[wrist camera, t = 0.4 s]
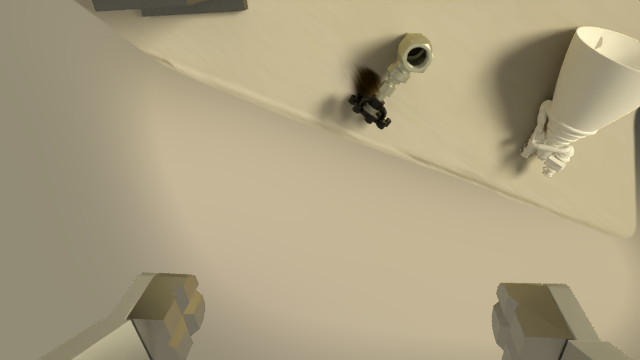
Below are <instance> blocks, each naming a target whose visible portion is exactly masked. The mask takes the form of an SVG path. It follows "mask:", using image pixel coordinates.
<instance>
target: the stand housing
mask: <svg viewBox="0 0 640 360" xmlns="http://www.w3.org/2000/svg"><path fill="white" fill-rule="evenodd" d="M92 1H93V4H94V7H95V10H96V11H111V10H126V9H141V10H142V14H143V16H157V15H173V14H190V13H206V12H222V11H239V10H246V9H248V5H247V0H92Z"/></svg>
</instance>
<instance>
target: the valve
mask: <svg viewBox="0 0 640 360" xmlns="http://www.w3.org/2000/svg"><path fill="white" fill-rule="evenodd" d="M416 47H421V48H422V49H421V51H420V52H419V53H418V54H417V55H415V56H408V53H409V51H410V50H412V49H413V48H416ZM433 60H434V58H433V55H432V45H431V43H430V41H429V40H428V39H427V38H426V37H425V36H423V35H422V34H418V33H407V34H406V35H405V36H404V38H403V39H402V40H401V42H400V43H399V45H398V60H397V61H396V62H395V63H391V65H390V66H389V67H388V69H387V70H388V72H389V73H390V74H389V75H388V78H389V79H388V80H387V81H386V80H384V82H383V83H382V84H381V86H380V87H379V91H380V92H379V93H378V95H375V94H373V95H372V97H371V98H370V97H366V98H364V99H362V97H363V96H362V95H361V94H359V93H357V95H356V96H355V95H351V97H350V98H349V100H348V102H349V103H350V104H352V105H354V107H353V108H352V109H353V111H354V112H355V113H357V114H359V113H361V114H362V115H363V116H364V117H365V118H364V120H365V121H366V122H367V123H369V124H371V123H372V122H374V123H376V125H377V127H378V128H380V129H383V128H384V127H387V126H388V125H389V124H390V123H391V120H390V119H389V118H387V119H386V120H385V119H384V118H385V117H386V114H387V112H386V109H385V107H384V106H383V105H384V104H385V102H384V101H383V99H384V98H385V97H386V96H388V97H390V95H391V94H392V93H393V91H394V90H395V87H394V86H395V85H396V84H400V82H402V83H406V82H407V80H408V79H409V78H410V75H409V74H410V72H417V73H423V72H424V71H425V70H426V69H427V67H428V66H429V65H430V64H431V62H432V61H433ZM363 106H364V107H365V108H363ZM374 115H376V116H377V117H375V116H374Z"/></svg>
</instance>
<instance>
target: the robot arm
mask: <svg viewBox="0 0 640 360" xmlns="http://www.w3.org/2000/svg"><path fill="white" fill-rule="evenodd" d="M197 286H198V281H197V279H196V277H195V276H194V275H188V274H169V273H144V272H143V273H141V274H140V275H138V276H137V277H136V279H135V280H134V282H133V283H132V284H131V286H130V287H129V289H128V290H127V291H126V293H125V294H124V296H123V297H122V298H121V300H120V301H119V303H118V304H117V305H116V307H115V308H114V310H113V311H112V312H111V314H110V315H109V317H108V318H107V319H100V320H99V321H97V322H96V323H94V324H92V325H91V326H89V327H88V328H86V329H85V330H83V331H82V332H80V333H78V334H77V335H75V336H74V337H72V338H71V339H69V340H68V341H66V342H64V343H63V344H61V345H60V346H58V347H57V348H55V349H53V350H52V351H50V352H49V353H47V354H46V355H44V356H43V357H41V358H39V359H38V360H185V359H186V357H187V355H188V353H189V351H190V348H191V346H192V344H193V342H192V338H191V335H192V334H194V333H195V332H196V331H197V330H199V329H200V326H201V324H202V322H203V318H204V312H205V303H204V299H203V296H202V295H201V294H200V293H199V292H198V291H197V290H196V288H197ZM496 294H497V297H498V299H499V302H498V303H496V304H495V305H494V306H493V312H492V327H493V333H494V337H495V340H496V343H497V344H498V345H499V346H500V347H501V348H502V349H503V350H504V353H503V357H502V360H633V359H632V358H631V357H629V356H628V355H626V354H625V353H624V352H622V351H621V350H620V349H618V348H617V347H615V346H614V345H612V344H611V343H610V342H604V341H601V339H600V338H599V336H598V334H597V333H596V331H595V329H594V327H593V326H592V324H591V322H590V321H589V319H588V317H587V316H586V314H585V312H584V311H583V309H582V307H581V306H580V304H579V302H578V301H577V299H576V297H575V295H574V294H573V292H572V290H571V289H570V287H569V286H567V285H566V284H541V283H539V284H538V283H500V284H499V286H498V289H497V293H496Z"/></svg>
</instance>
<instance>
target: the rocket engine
mask: <svg viewBox="0 0 640 360" xmlns="http://www.w3.org/2000/svg"><path fill="white" fill-rule="evenodd" d="M601 37H602V38H603V42H602V46H601V47H599V48H597V49H596V50H594V48H595V46H596V44H597V42H598V41H599V39H600V38H601ZM638 107H640V41H638V40H636V39H634V38H631V37H628V36H626V35H623V34H620V33H617V32H614V31H610V30H607V29H602V28H598V27H590V26H584V27H579V28H578V29H576V32H575V34H574V36H573V38H572V41H571V43H570V45H569V48H568V50H567V53H566V56H565V59H564V61H563V64H562V67H561V70H560V73H559V77H558V80H557V84H556V87H555V91H554V95H553V100H552V101H551V100H546V101H544V102H543V103H542V104H541V106H540V109H539V114H538V118H537V122H538V124H537V127H536V128H535V131H534V132H533V133H532V135H531V138H529V142H528V143H527V144H528V146H526V147H525V144H526V143H524V148H522V149H523V150H524V151H523V152H522V153H521V149H520V154H521V156H522V157H524V158H528V157H529V156H530V155H531V154H533V151H534V150H533V149H535V148H538V150H537V151H536V152H537V155H538V159H540V160H547V161H545V162H544V164H546V165H547V167H543V170H545V169H544V168H547V170H546V171H545V172H542V173H543V174H544V175H545V176H546V177H549V178H550V177H551V176H552V175H553V173H555V172H559V171H561V170H562V169H563V168H564V167H565V165H566V164H565V163H567V162H568V161H569V160H570V158H569V157H570V156H573V153H574V148H573V147H572V146H569V145H566V146H563V145H565V144H569V143H570V142H574V141H577V140H578V139H579V138H584V137H586V136H587V135H593V134H595V133H596V132H597V130H598V129H600V128H602V127H604V126H606V125H608V124H610V123H612V122H614V121H616V120H617V119H619V118H621V117H623V116H625V115H626V114H628V113H630V112H631V111H633V110H635V109H637V108H638ZM547 115H548V120H549V121H548V124H547V127H548V130H547V138H546V133H545V132H544V131H543V128H544V123H546V119H547ZM542 142H544V143H543V144H541V143H542ZM562 146H563V147H562ZM554 154H555V155H554ZM553 155H554V157H553Z"/></svg>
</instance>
